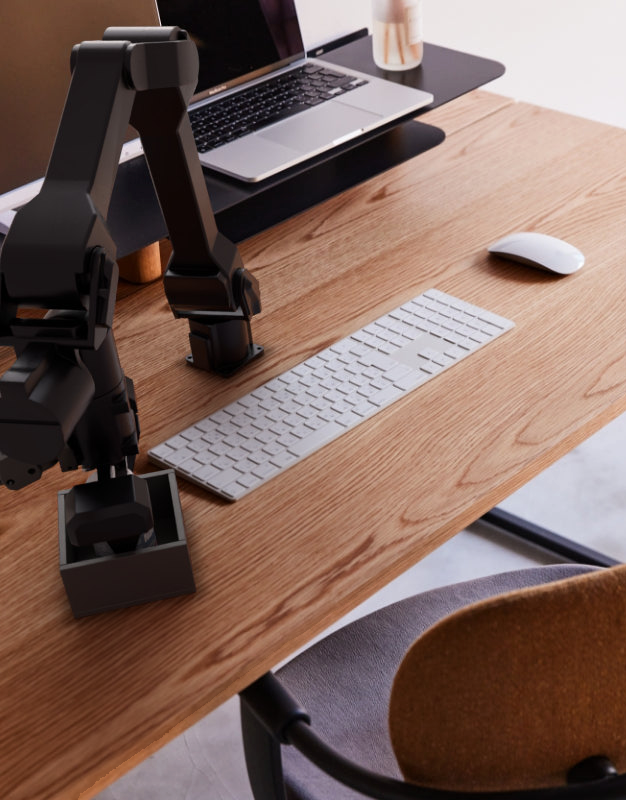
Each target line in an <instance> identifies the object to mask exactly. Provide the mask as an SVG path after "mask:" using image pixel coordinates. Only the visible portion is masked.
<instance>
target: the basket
mask: <svg viewBox="0 0 626 800" xmlns="http://www.w3.org/2000/svg"><path fill="white" fill-rule="evenodd" d="M137 476H138V477H140V478H142V479H144V480H146V482H147V486H148V490H149V496H150V501H151V507H152V514H153V521H154V527H153V528H154V532H155V536H156V540H157V544H158V546H153V547H148V548H144V549H139V550H134V551H129V552H125V553H120V554H115V555H110V556H105V557H101V558H97V556H96V552H95V548H94V544H91V545H86V546H82V547H78V546H75V545H73V544H71V542H70V538H69V535H68V532H67V528H66V521H65V496H66V495H67V493H68V492H69V491H70V490H71V489H72V487H71V488H67V489H61V490H57V495H56V496H57V497H56V498H57V527H58V528H57V529H58V566H59V569H58V570H59V575H60V577H61V580H62V584H63V586H64V587H63V588H64V590H65V593H66V597H67V600H68V603H69V606H70V610H71V613H72V616H73V619H75V620H76V619H80V618H84V617H89V616H94V615H97V614H103V613H107V612H112V611H116V610H121V609H126V608H130V607H134V606H139V605H143V604H148V603H153V602H158V601H163V600H166V599H167V600H168V599H172V598H177V597H181V596H186V595H190V594H194V593H197V586H196V580H195V574H194V569H193V568H194V567H193V563H192V557H191V552H190V546H189V540H188V535H187V529H186V528H187V527H186V521H185V515H184V511H183V506H182V501H181V497H180V491H179V486H178V482H177V477H176V472H175V469H174V468H168V469H164V470H158V471H154V472H148V473H143V474H138V475H137Z"/></svg>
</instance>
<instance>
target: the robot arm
mask: <svg viewBox="0 0 626 800" xmlns="http://www.w3.org/2000/svg"><path fill="white" fill-rule="evenodd" d="M69 56H70V58H69V70H70V75H71V79H70V83H69V86H68V89H67V94H66V97H65V100H64V104H63V108H62V112H61V115H60V119H59V122H58V126H57V130H56V133H55V138H54V141H53V145H52V148H51V151H50V156H49V160H48V163H47V167H46V171H45V175H44V179H43V182H42V184H41V187H40V190H39V191H38V194H36V195H35V196H34V197H32V199H30V200H29V201H28V202H27V203H26V204H24V205H23V206H22V207H20V208H19V209H18V210H17V211H16V212H15V214H14V215H13V218H12V220H11V222H10V225H9V228H8V230H7V233H6V235H5V237H4V239H3V241H2V245H1V247H0V347H1V348H2V347H3V348H4V347H5V348H6V347H7V348H13V351H14V354H15V357H16V359H15V361H14V362H13V364H12V365H11V366H10V367H9V368H8V369H6V370H5V372H4V373H3V374H2V375H1V376H0V486H5V487H6V488H7V489H8V491H9V490H10V491H16V492H17V491H20V490H22V489H24V488H26V487H28V486H30V485H32V484H34V483H36V482H37V481H39V480H41V479H42V477H43V473H44V472H46V471H48V470H50V469H52V468H53V467H55V466H56V465H57V464H59V468H60V471H61V473H62V474H63V473H67V472H69V473H70V472H74V471H77V470H78V469H79V467H81V470H82V472H83V473H87V472H88V473H89V472H92V471H95V470H96V471H97V478H98V481H94V482H89V483H86V482H85V483H79V484H74V485H73V486H72V487H71V488H72V489H71V488H70V489H71V490H70V491H69V492H68V493H67V495H66V496H65V521H66V528H67V532H68V535H69V538H70V542H71V544H73V545H75V546H78V547H82V546H86V545H91V544H96V543H101V542H106V543H107V544H108V545H109V547H110V548H111V549H112V551H113V552H114V553H115V554H120V553H125V552H129V551H134V550H136V547H137V544H138V541H139V538H140V535H141V534H144V533H148V532H149V531H150V530H151V529H152V528H153V527H154V521H153V514H152V507H151V501H150V496H149V490H148V486H147V482H146V480H144V479H142V478H140V477H138V475H136V474H134V469H135V463H136V458H137V456H138V455H140V448H139V444H140V443H139V442H140V439H141V438H140V437H141V432H142V431H141V425H140V418H139V406H138V398H137V392H136V389H135V384H134V380H133V379H132V378H131V377H129V376H127V375H126V374H125V370H124V367H122V365H121V361H120V355H119V352H118V346H117V343H116V338H115V333H114V329H113V325H114V316H115V307H116V299H117V291H118V283H119V276H120V269H119V268H120V267H119V265H118V263H117V259H116V258H117V250H118V248H117V244H116V242H115V239H114V237H113V234H112V233H111V231H110V228H109V226H108V224H107V220H108V219H107V218H108V213H109V207H110V203H111V199H112V193H113V190H114V185H115V182H116V177H117V173H118V168H119V165H120V161H121V157H122V152H123V148H124V144H125V139H126V135H127V131H128V127H129V126H130V127H131V128H133V129H134V130H135V131H136V133H137V135H138V139H139V143H140V144H141V148H142V151H143V155H144V158H145V162H146V165H147V168H148V171H149V175H150V179H151V181H152V185H153V188H154V191H155V195H156V198H157V201H158V205H159V209H160V211H161V215H162V218H163V222H164V225H165V228H166V231H167V235H168V238H169V241H170V245H171V249H172V250H171V252H170V256H169V257H168V261H167V264H166V267H165V270H164V272H163V280H162V284H163V290H164V294H165V297H166V298H165V299H166V300H167V303H168V305H169V308H170V310H171V313H172V315H173V318H174V320H181V319H186V320H187V321H188V328H189V332H188V342H189V346H190V353H188V355H186V356H185V359H184V360H185V363H186V364H189V365H191V366H193V367H196V368H199V369H201V370H204V371H207V372H208V373H212V374H213V375H217V376H219V377H221V378H225V379H228V378H231V377H232V376H234V375H235V374H236V373H238V372H240V370H242V369H244V368H245V367H246V366H247V365H248V364H250V363H251V362H253V361H254V360H255V359H257V358H259V357H260V356H261V355H263V353H264V352H265V347H264V346H262V345H259V344H257V343H254V340H253V333H252V326H251V322H252V319H253V317H254V316H256V315H258V314H261V313H262V311H263V307H262V299H261V294H262V292H261V289H260V281H259V280H258V279H257V277H256V276H254V274H252V272H251V271H250V270H249V269H248V268H245V265H244V261H243V259H242V256H241V252H240V250H239V248H238V246H237V245H235V243H233V242H232V241H231V240H229V239H228V238H227V237H226V236H225V235H223V234H222V233H221V232H220V231H219V230H218V227H217V223H216V219H215V215H214V211H213V208H212V207H213V206H212V203H211V200H210V196H209V195H210V194H209V192H208V188H207V184H206V180H205V176H204V173H203V168H202V165H201V160H200V156H199V152H198V148H197V144H196V140H195V137H194V132H193V128H192V124H191V120H190V117H189V111H188V109H189V106H190V103H191V101H192V97H193V96H194V93H195V90H196V88H197V86H198V82H199V70H200V59H199V52H198V48H197V45H196V43H195V41H194V40H192V39H191V37H190V35H189V33H188V32H187V30H185V29H182V28H180V27H179V26H177V25H176V26H174V25H173V26H172V25H171V26H168V25H166V26H165V25H163V26H162V25H161V26H159V25H157V26H109V27H107V28H105V30H104V32H103V35H102V38H101V39H99V40H98V39H96V40H83V41H80V43H75V45H73V47H72V49H71V51H70V55H69ZM19 309H22V310H23V309H24V310H48V311H47V313H46V314H45V315H44V317H41V318H40V317H37V318H36V317H17V315H18V310H19ZM112 466H114V468H115V469H114V470H115V477H114V478H113V474H112ZM128 469H129V470H130V471H131V472H132V473H133V474H128Z"/></svg>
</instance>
